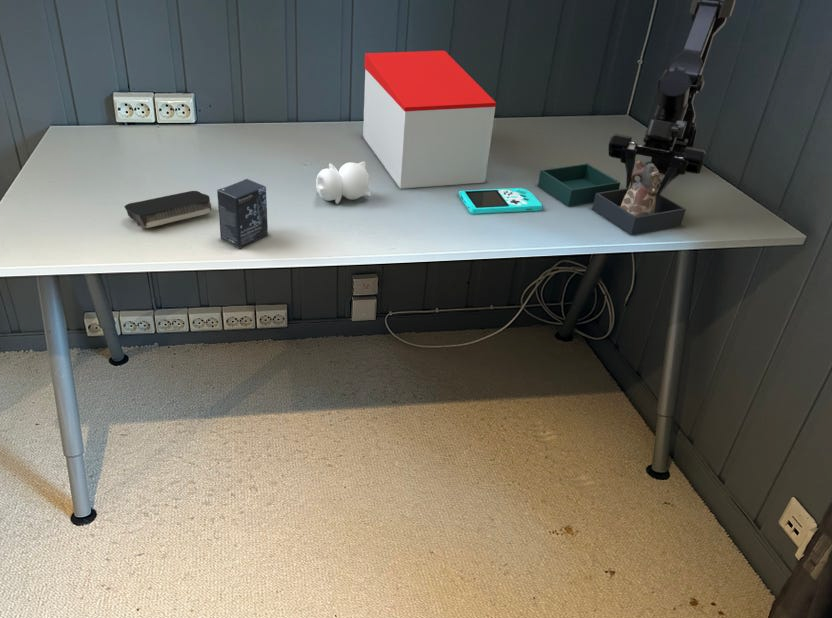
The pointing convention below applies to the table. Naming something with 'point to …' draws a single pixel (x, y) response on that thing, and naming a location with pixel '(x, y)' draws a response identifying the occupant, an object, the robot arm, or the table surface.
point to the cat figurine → (343, 182)
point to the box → (242, 213)
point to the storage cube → (426, 119)
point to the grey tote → (663, 218)
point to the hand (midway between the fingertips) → (642, 190)
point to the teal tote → (576, 183)
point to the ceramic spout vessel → (642, 191)
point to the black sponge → (169, 208)
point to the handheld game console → (499, 200)
